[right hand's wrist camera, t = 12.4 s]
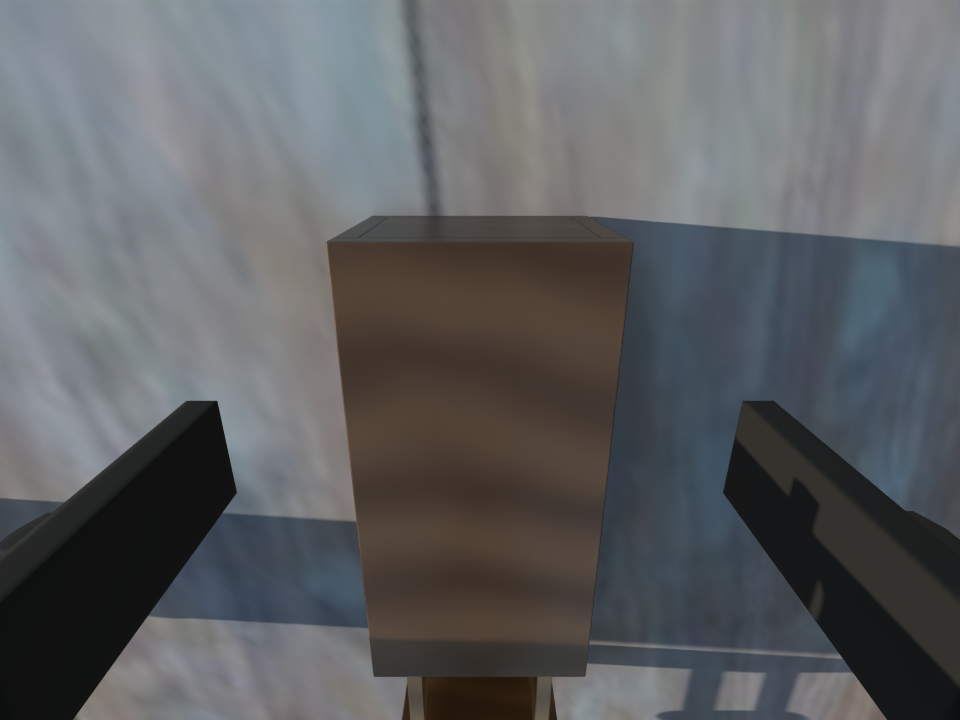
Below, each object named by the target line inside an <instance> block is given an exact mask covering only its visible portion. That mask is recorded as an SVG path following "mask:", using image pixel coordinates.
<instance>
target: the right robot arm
mask: <svg viewBox="0 0 960 720" xmlns="http://www.w3.org/2000/svg"><path fill="white" fill-rule="evenodd" d="M236 493H237V491H236V486H235V482H234V477H233V472H232V468H231V463H230V458H229V454H228V449H227V444H226V440H225V435H224V430H223V426H222V421H221V416H220V411H219V407H218V402H217V401H186V402H185V403H183V404H182V405H181V406H180V407H179V408H177V409H176V410H175V411H174V412H173V413H171V414H170V415H169V416H168V417H167V418H165V419H164V420H163V421H162V422H161V423H159V424H158V425H157V426H156V427H155V428H154V429H152V430H151V431H150V432H149V433H148V434H146V435H145V436H144V437H143V438H142V439H140V440H139V441H138V442H137V443H136V444H134V445H133V446H132V447H131V448H130V449H128V450H127V451H126V452H125V453H124V454H122V455H121V456H120V457H119V458H118V459H116V460H115V461H114V462H113V463H112V464H110V465H109V466H108V467H107V468H106V469H104V470H103V471H102V472H101V473H100V474H98V475H97V476H96V477H95V478H94V479H92V480H91V481H90V482H89V483H88V484H86V485H85V486H84V487H83V488H82V489H80V490H79V491H78V492H77V493H76V494H74V495H73V496H72V497H71V498H70V499H68V500H67V501H66V502H65V503H64V504H62V505H61V506H60V507H59V508H58V509H56V510H55V511H54V512H53V513H46V514H45V515H43V516H41V517H39V518H37V519H35V520H34V521H32V522H30V523H28V524H26V525H25V526H23V527H21V528H19V529H17V530H15V531H14V532H12V533H11V534H10V535H9V536H8V537H6V538H5V539H4V540H3V541H1V542H0V720H73V719H74V717H75V716H76V715H77V713H78V712H79V710H80V709H81V708H82V706H83V705H84V704H85V702H86V701H87V699H88V698H89V697H90V695H91V694H92V693H93V691H94V690H95V688H96V687H97V686H98V684H99V683H100V681H101V680H102V679H103V677H104V676H105V675H106V673H107V672H108V670H109V669H110V668H111V666H112V665H113V663H114V662H115V661H116V659H117V658H118V657H119V655H120V654H121V652H122V651H123V650H124V648H125V647H126V645H127V644H128V643H129V641H130V640H131V639H132V637H133V636H134V634H135V633H136V632H137V630H138V629H139V627H140V626H141V625H142V623H143V622H144V621H145V619H146V618H147V616H148V615H149V614H150V612H151V611H152V609H153V608H154V607H155V605H156V604H157V603H158V601H159V600H160V598H161V597H162V596H163V594H164V593H165V591H166V590H167V589H168V587H169V586H170V585H171V583H172V582H173V580H174V579H175V578H176V576H177V575H178V573H179V572H180V571H181V569H182V568H183V567H184V565H185V564H186V562H187V561H188V560H189V558H190V557H191V555H192V554H193V553H194V551H195V550H196V549H197V547H198V546H199V544H200V543H201V542H202V540H203V539H204V537H205V536H206V535H207V533H208V532H209V531H210V529H211V528H212V526H213V525H214V524H215V522H216V521H217V519H218V518H219V517H220V515H221V514H222V513H223V511H224V510H225V508H226V507H227V506H228V504H229V503H230V501H231V500H232V499H233V497H234V496H235V495H236ZM723 493H724V495H725V496H726V497H727V499H728V500H729V501H730V503H731V504H732V506H733V507H734V508H735V510H736V511H737V513H738V514H739V515H740V517H741V518H742V519H743V521H744V522H745V524H746V525H747V526H748V528H749V529H750V531H751V532H752V533H753V535H754V536H755V537H756V539H757V540H758V542H759V543H760V544H761V546H762V547H763V549H764V550H765V551H766V553H767V554H768V555H769V557H770V558H771V560H772V561H773V562H774V564H775V565H776V567H777V568H778V569H779V571H780V572H781V573H782V575H783V576H784V578H785V579H786V580H787V582H788V583H789V585H790V586H791V587H792V589H793V590H794V591H795V593H796V594H797V596H798V597H799V598H800V600H801V601H802V603H803V604H804V605H805V607H806V608H807V609H808V611H809V612H810V614H811V615H812V616H813V618H814V619H815V621H816V622H817V623H818V625H819V626H820V627H821V629H822V630H823V632H824V633H825V634H826V636H827V637H828V639H829V640H830V641H831V643H832V644H833V645H834V647H835V648H836V650H837V651H838V652H839V654H840V655H841V657H842V658H843V659H844V661H845V662H846V663H847V665H848V666H849V668H850V669H851V670H852V672H853V673H854V675H855V676H856V677H857V679H858V680H859V681H860V683H861V684H862V686H863V687H864V688H865V690H866V691H867V693H868V694H869V695H870V697H871V698H872V699H873V701H874V702H875V704H876V705H877V706H878V708H879V709H880V711H881V712H882V713H883V715H884V716H885V717H886V719H887V720H960V540H959V539H958V538H957V537H956V536H954V535H953V534H952V533H951V532H949V531H948V530H947V529H945V528H943V527H941V526H939V525H938V524H936V523H934V522H932V521H930V520H928V519H927V518H925V517H923V516H921V515H919V514H917V513H916V512H914V511H905V510H904V509H902V508H901V507H900V506H899V505H898V504H896V503H895V502H894V501H893V500H892V499H890V498H889V497H888V496H887V495H886V494H884V493H883V492H882V491H881V490H880V489H878V488H877V487H876V486H875V485H874V484H872V483H871V482H870V481H869V480H868V479H866V478H865V477H864V476H863V475H862V474H860V473H859V472H858V471H857V470H856V469H854V468H853V467H852V466H851V465H850V464H848V463H847V462H846V461H845V460H844V459H842V458H841V457H840V456H839V455H838V454H836V453H835V452H834V451H833V450H832V449H830V448H829V447H828V446H827V445H826V444H824V443H823V442H822V441H821V440H820V439H818V438H817V437H816V436H815V435H814V434H812V433H811V432H810V431H809V430H808V429H806V428H805V427H804V426H803V425H802V424H801V423H799V422H798V421H797V420H796V419H795V418H793V417H792V416H791V415H790V414H789V413H787V412H786V411H785V410H784V409H783V408H781V407H780V406H779V405H778V404H777V403H775V402H774V401H743V402H742V407H741V411H740V416H739V421H738V426H737V430H736V435H735V440H734V444H733V449H732V454H731V458H730V463H729V468H728V472H727V477H726V482H725V486H724V491H723Z"/></svg>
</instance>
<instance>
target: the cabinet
mask: <svg viewBox="0 0 960 720" xmlns="http://www.w3.org/2000/svg"><path fill="white" fill-rule="evenodd" d="M633 244H634V243H633V242H632V241H630V240H628V239H627V238H624V237H623V236H621V235H619V234H617V233H616V232H614V231H612V230H610V229H608V228H607V227H605V226H603V225H601V224H600V223H598V222H596V221H594V220H593V219H591V218H589V217H587V216H372V217H370V218H368V219H366V220H365V221H363V222H361V223H359V224H358V225H356V226H354V227H352V228H351V229H349V230H347V231H345V232H343V233H342V234H340V235H338V236H336V237H335V238H332V239H331V240H329V241H327V242H326V249H327V258H328V267H329V276H330V285H331V294H332V304H333V313H334V322H335V331H336V340H337V349H338V358H339V367H340V376H341V385H342V394H343V403H344V412H345V421H346V430H347V439H348V448H349V457H350V466H351V475H352V485H353V494H354V503H355V512H356V521H357V530H358V539H359V548H360V557H361V566H362V575H363V584H364V593H365V602H366V611H367V620H368V629H369V638H370V647H371V657H372V666H373V675H374V677H585V675H586V666H587V657H588V648H589V639H590V630H591V621H592V612H593V603H594V594H595V585H596V576H597V567H598V558H599V549H600V540H601V531H602V523H603V514H604V505H605V496H606V487H607V478H608V469H609V460H610V451H611V442H612V433H613V424H614V415H615V406H616V397H617V388H618V379H619V370H620V361H621V352H622V343H623V334H624V325H625V316H626V307H627V298H628V289H629V280H630V271H631V262H632V253H633Z"/></svg>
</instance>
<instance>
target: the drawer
mask: <svg viewBox="0 0 960 720" xmlns="http://www.w3.org/2000/svg"><path fill="white" fill-rule="evenodd" d="M402 720H557V716H556V709H555V701H554V694H553V687H552V677H407V687H406V694H405V701H404V709H403V716H402Z"/></svg>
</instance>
